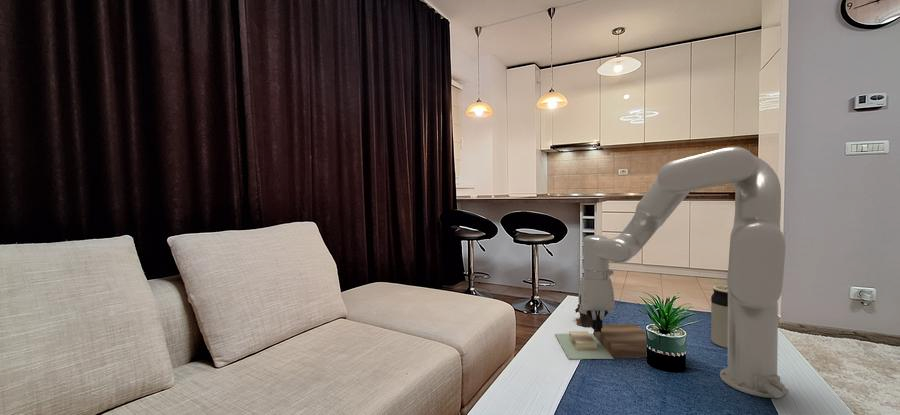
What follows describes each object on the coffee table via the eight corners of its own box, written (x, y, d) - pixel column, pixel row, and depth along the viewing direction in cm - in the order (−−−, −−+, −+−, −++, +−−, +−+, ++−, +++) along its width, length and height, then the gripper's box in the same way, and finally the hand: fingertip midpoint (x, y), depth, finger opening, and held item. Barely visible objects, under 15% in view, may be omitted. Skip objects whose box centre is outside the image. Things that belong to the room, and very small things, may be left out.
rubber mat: (613, 359, 103) (613, 358, 103) (568, 359, 104) (568, 358, 104) (592, 334, 121) (592, 333, 121) (554, 334, 122) (554, 333, 122)
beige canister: (735, 352, 105) (736, 293, 104) (706, 342, 112) (706, 287, 111) (748, 345, 109) (748, 288, 108) (718, 336, 116) (718, 283, 115)
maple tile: (576, 343, 109) (577, 350, 109) (596, 343, 108) (596, 350, 108) (569, 331, 118) (569, 338, 118) (587, 331, 117) (587, 338, 117)
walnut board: (660, 357, 103) (660, 344, 103) (612, 357, 104) (611, 344, 104) (635, 335, 119) (635, 323, 119) (593, 335, 120) (593, 324, 120)
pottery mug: (568, 324, 132) (570, 302, 136) (584, 330, 136) (585, 309, 140) (596, 325, 123) (597, 302, 126) (612, 332, 127) (613, 309, 130)
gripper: (615, 271, 114) (616, 325, 115) (569, 272, 115) (570, 326, 116) (625, 276, 107) (625, 335, 108) (575, 277, 108) (576, 335, 109)
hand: (596, 330), depth 112 cm, fingers closed
